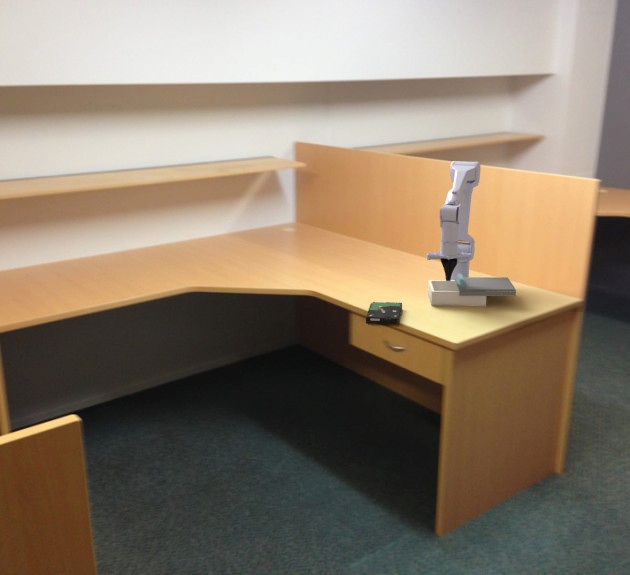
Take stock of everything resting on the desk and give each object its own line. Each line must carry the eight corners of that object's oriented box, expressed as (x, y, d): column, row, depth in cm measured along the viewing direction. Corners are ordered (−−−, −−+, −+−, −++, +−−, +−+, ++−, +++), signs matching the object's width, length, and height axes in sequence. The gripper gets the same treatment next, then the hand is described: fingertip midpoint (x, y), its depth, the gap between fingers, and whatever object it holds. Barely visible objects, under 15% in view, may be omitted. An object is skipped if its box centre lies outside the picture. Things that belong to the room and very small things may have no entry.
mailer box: (428, 293, 242) (428, 280, 240) (479, 293, 241) (480, 280, 239) (431, 305, 230) (431, 291, 228) (485, 306, 229) (486, 291, 227)
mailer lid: (454, 282, 241) (454, 271, 240) (507, 282, 240) (507, 271, 239) (459, 295, 227) (459, 284, 226) (515, 295, 226) (516, 284, 225)
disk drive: (399, 326, 214) (402, 310, 228) (399, 318, 213) (402, 302, 227) (365, 325, 216) (370, 308, 230) (365, 316, 215) (370, 300, 229)
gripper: (428, 243, 226) (427, 283, 230) (473, 243, 225) (471, 283, 229) (426, 238, 233) (425, 277, 237) (470, 238, 232) (468, 277, 236)
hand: (447, 280), depth 233 cm, fingers closed
